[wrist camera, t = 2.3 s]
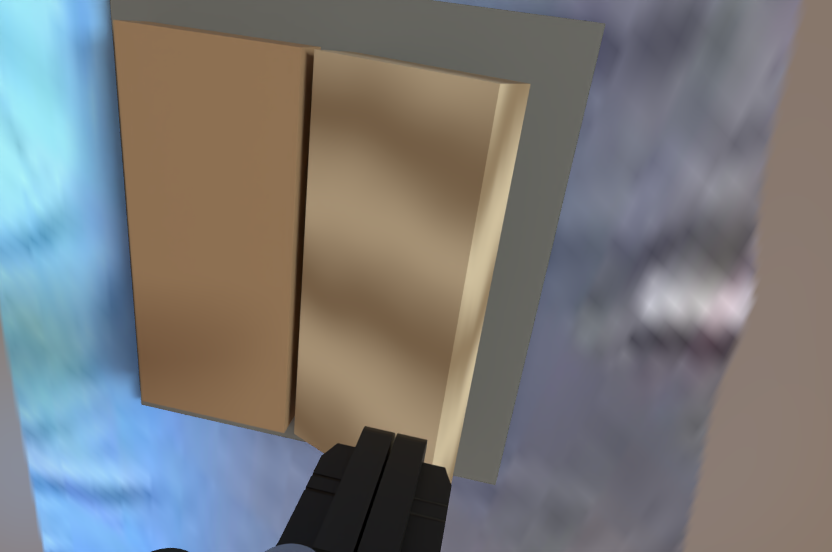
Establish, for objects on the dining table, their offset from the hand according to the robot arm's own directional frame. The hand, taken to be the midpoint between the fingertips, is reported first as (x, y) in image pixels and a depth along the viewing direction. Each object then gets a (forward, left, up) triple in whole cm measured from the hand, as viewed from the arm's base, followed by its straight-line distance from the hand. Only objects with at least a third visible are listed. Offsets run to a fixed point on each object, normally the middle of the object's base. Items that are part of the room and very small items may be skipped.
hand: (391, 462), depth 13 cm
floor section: (0, -5, -12) cm, 13 cm away
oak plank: (0, -2, -10) cm, 10 cm away
